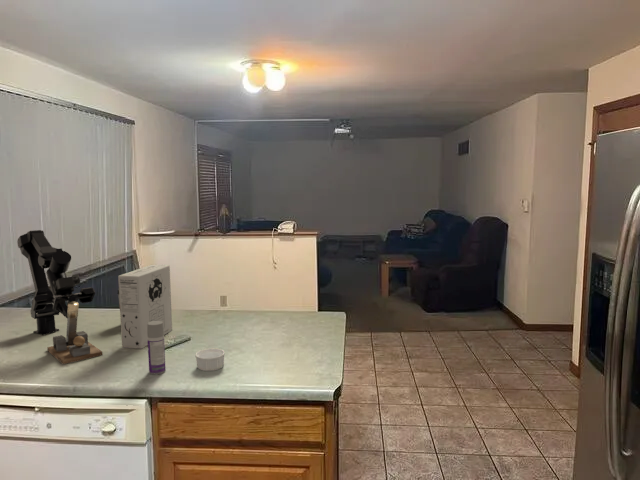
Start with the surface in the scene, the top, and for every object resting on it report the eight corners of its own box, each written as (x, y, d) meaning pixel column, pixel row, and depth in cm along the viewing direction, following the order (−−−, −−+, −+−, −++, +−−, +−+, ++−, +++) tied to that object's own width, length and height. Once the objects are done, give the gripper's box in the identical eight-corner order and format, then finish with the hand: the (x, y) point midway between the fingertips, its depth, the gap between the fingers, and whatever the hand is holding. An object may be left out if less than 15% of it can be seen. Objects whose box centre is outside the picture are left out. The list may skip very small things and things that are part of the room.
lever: (63, 343, 173) (65, 302, 167) (74, 340, 175) (77, 300, 169) (66, 348, 171) (68, 307, 165) (77, 346, 173) (80, 305, 167)
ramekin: (226, 370, 155) (226, 356, 154) (196, 373, 153) (195, 359, 152) (223, 360, 163) (223, 346, 163) (194, 363, 161) (194, 349, 160)
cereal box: (154, 329, 197) (151, 264, 193) (172, 330, 195) (170, 265, 192) (121, 347, 176) (117, 275, 172) (141, 349, 174) (138, 276, 171)
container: (151, 368, 156) (148, 320, 154) (167, 368, 156) (164, 320, 155) (147, 374, 151) (145, 325, 150) (163, 374, 152) (161, 324, 150)
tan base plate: (47, 350, 173) (46, 330, 172) (84, 342, 181) (83, 323, 180) (63, 364, 160) (61, 342, 159) (102, 355, 168) (101, 334, 167)
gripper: (31, 271, 166) (43, 311, 159) (91, 264, 178) (105, 301, 171) (27, 291, 172) (38, 330, 166) (85, 282, 185) (98, 319, 178)
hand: (71, 319), depth 170 cm, fingers closed, pressing on lever
